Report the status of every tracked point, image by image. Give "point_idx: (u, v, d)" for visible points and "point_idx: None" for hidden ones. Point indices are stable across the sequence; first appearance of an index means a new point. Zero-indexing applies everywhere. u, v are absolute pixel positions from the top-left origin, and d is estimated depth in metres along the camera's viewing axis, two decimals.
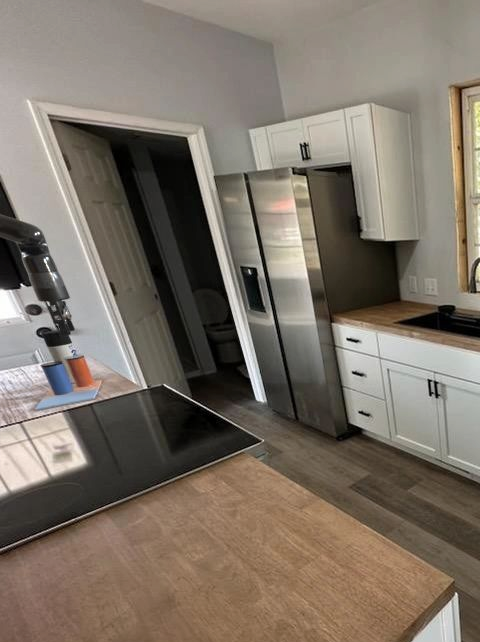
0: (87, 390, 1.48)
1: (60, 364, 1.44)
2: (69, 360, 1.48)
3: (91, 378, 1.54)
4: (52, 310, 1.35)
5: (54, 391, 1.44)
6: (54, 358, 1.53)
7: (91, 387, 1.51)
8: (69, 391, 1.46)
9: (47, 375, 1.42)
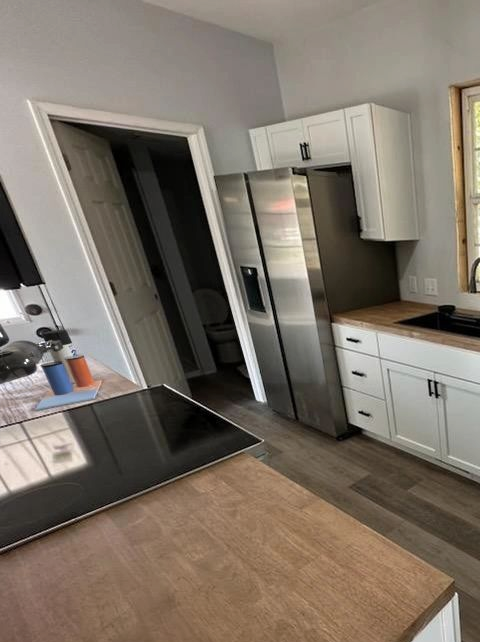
0: (87, 390, 1.48)
1: (60, 364, 1.44)
2: (69, 360, 1.48)
3: (91, 378, 1.54)
4: None
5: (54, 391, 1.44)
6: (54, 358, 1.53)
7: (91, 387, 1.51)
8: (69, 391, 1.46)
9: (47, 375, 1.42)
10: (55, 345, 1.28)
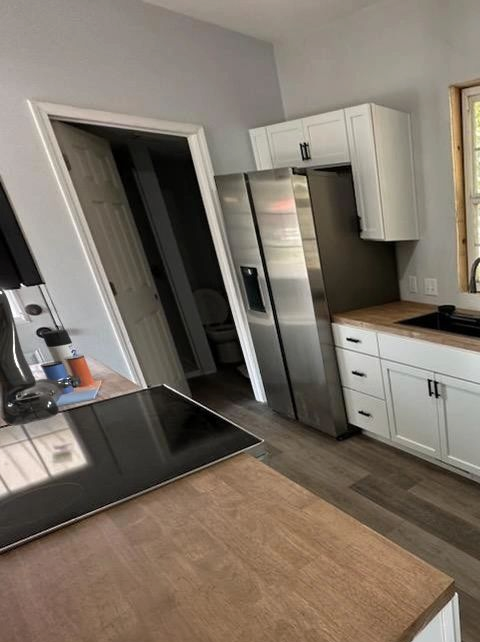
0: (87, 390, 1.48)
1: (60, 364, 1.44)
2: (69, 360, 1.48)
3: (91, 378, 1.54)
4: None
5: None
6: (54, 358, 1.53)
7: (91, 387, 1.51)
8: (69, 391, 1.46)
9: (47, 375, 1.42)
10: (74, 382, 1.36)
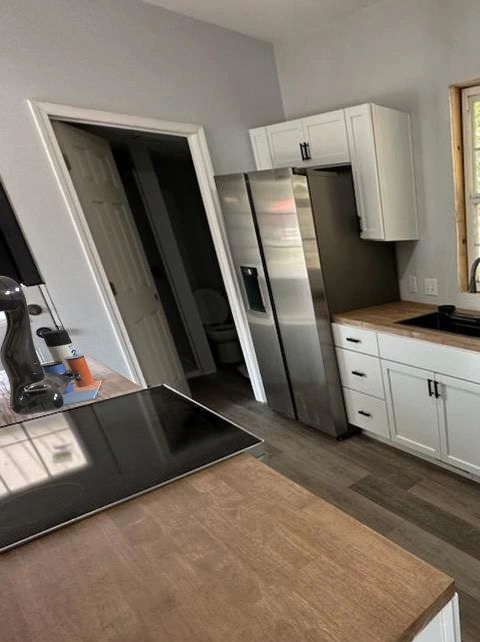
0: (87, 390, 1.48)
1: (60, 364, 1.44)
2: (69, 360, 1.48)
3: (91, 378, 1.54)
4: None
5: None
6: (54, 358, 1.53)
7: (91, 387, 1.51)
8: (69, 391, 1.46)
9: None
10: (78, 375, 1.43)
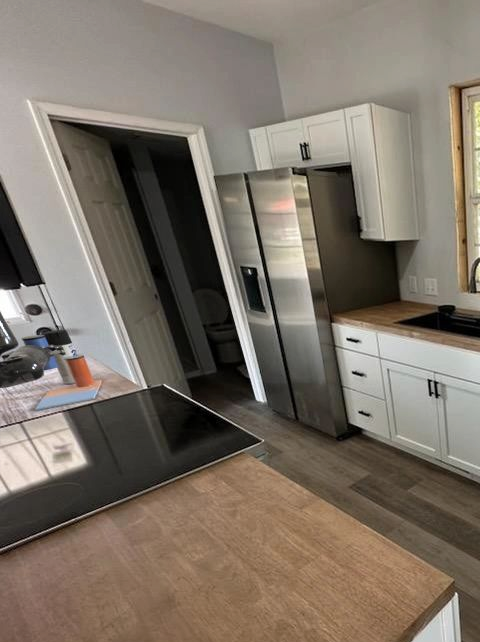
0: (87, 390, 1.48)
1: (43, 338, 1.35)
2: (69, 360, 1.48)
3: (91, 378, 1.54)
4: None
5: None
6: None
7: (91, 387, 1.51)
8: (53, 367, 1.37)
9: None
10: (62, 349, 1.34)
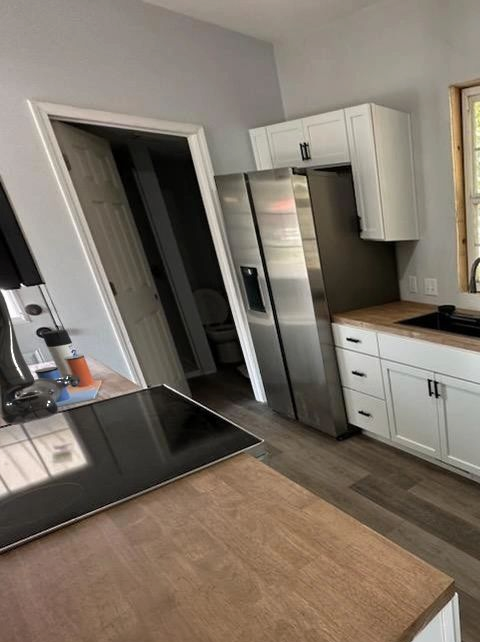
0: (87, 390, 1.48)
1: (55, 370, 1.37)
2: (69, 360, 1.48)
3: (91, 378, 1.54)
4: None
5: None
6: (54, 358, 1.53)
7: (91, 387, 1.51)
8: (65, 398, 1.39)
9: None
10: (73, 381, 1.35)
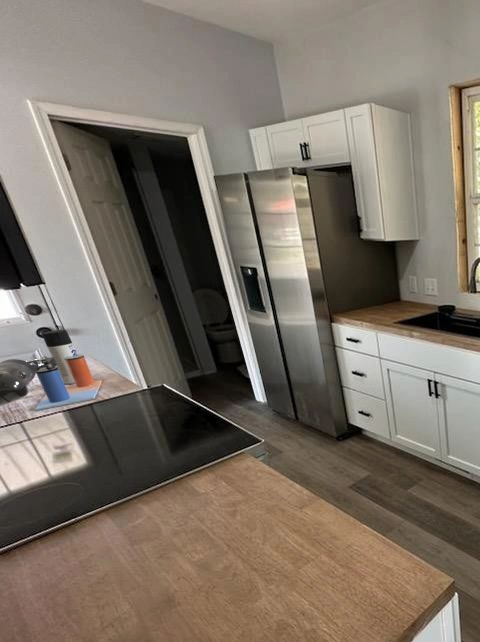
0: (87, 390, 1.48)
1: (55, 370, 1.37)
2: (69, 360, 1.48)
3: (91, 378, 1.54)
4: None
5: (49, 398, 1.37)
6: (54, 358, 1.53)
7: (91, 387, 1.51)
8: (65, 398, 1.39)
9: (42, 382, 1.35)
10: (48, 363, 1.22)
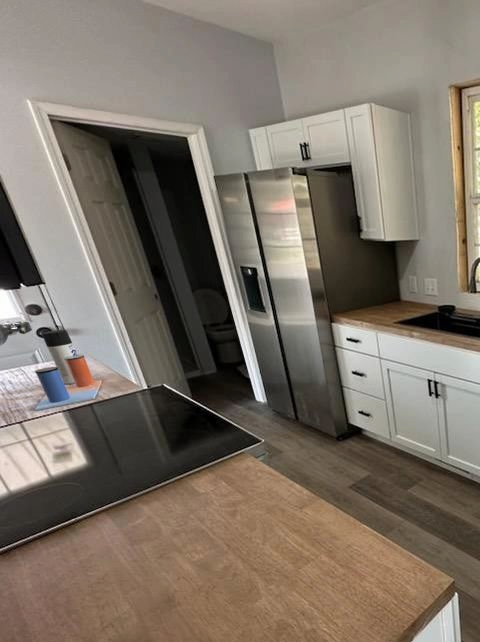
0: (87, 390, 1.48)
1: (55, 370, 1.37)
2: (69, 360, 1.48)
3: (91, 378, 1.54)
4: None
5: (49, 398, 1.37)
6: (54, 358, 1.53)
7: (91, 387, 1.51)
8: (65, 398, 1.39)
9: (42, 382, 1.35)
10: (21, 327, 1.16)
